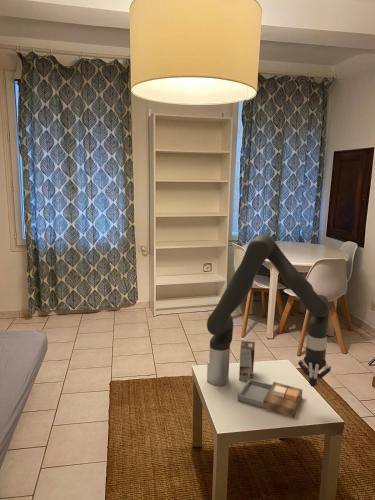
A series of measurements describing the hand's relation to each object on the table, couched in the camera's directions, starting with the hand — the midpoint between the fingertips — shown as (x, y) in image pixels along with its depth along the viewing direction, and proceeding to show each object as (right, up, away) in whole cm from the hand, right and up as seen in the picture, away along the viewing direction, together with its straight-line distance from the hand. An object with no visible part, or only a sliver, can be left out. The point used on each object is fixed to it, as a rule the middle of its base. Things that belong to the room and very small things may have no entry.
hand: (312, 385), depth 155 cm
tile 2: (-7, -7, +5) cm, 11 cm away
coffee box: (-23, -6, +28) cm, 37 cm away
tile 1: (-11, -6, +8) cm, 15 cm away
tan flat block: (-10, -10, +8) cm, 16 cm away
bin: (-21, -9, +13) cm, 26 cm away
